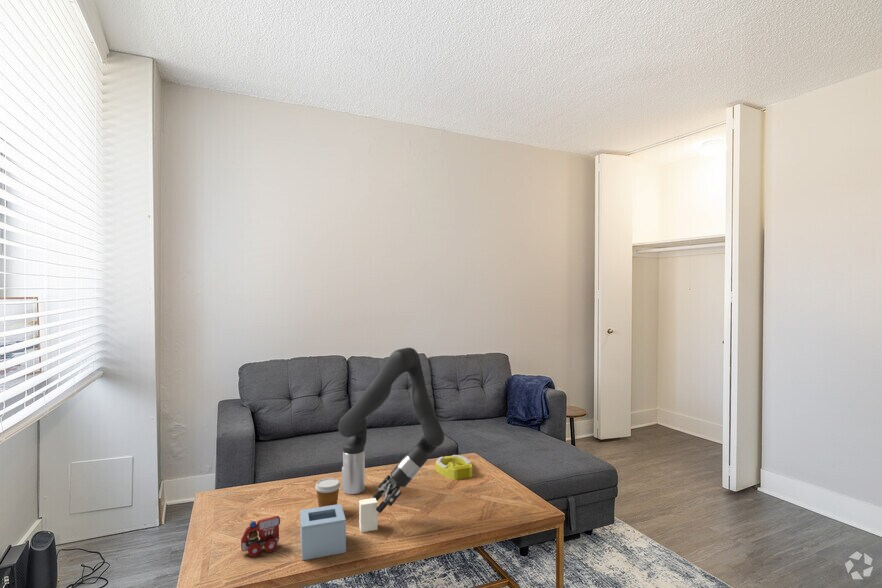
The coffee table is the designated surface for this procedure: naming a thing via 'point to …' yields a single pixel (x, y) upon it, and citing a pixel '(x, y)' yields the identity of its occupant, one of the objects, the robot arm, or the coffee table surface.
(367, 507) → the block
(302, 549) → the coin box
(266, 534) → the toy fire truck
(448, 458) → the yellow low hollow piece
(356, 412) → the robot arm
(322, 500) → the disposable coffee cup
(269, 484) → the coffee table surface
